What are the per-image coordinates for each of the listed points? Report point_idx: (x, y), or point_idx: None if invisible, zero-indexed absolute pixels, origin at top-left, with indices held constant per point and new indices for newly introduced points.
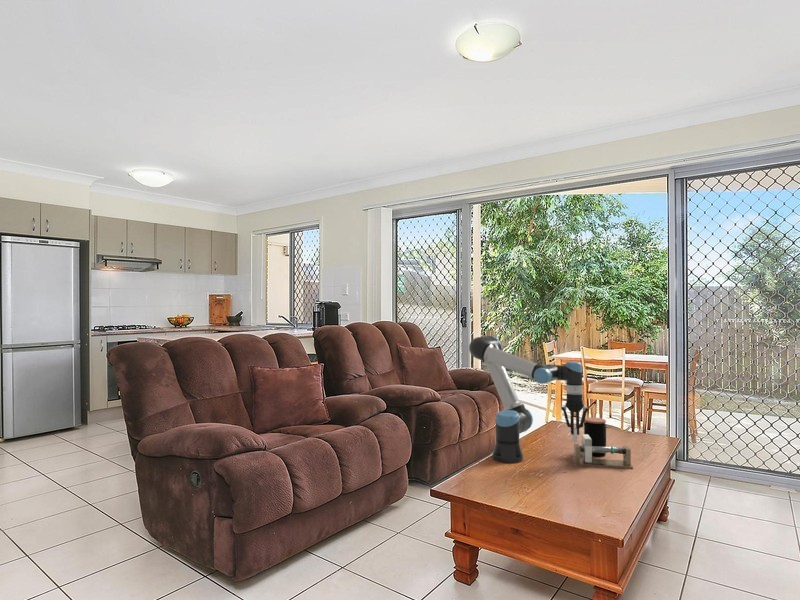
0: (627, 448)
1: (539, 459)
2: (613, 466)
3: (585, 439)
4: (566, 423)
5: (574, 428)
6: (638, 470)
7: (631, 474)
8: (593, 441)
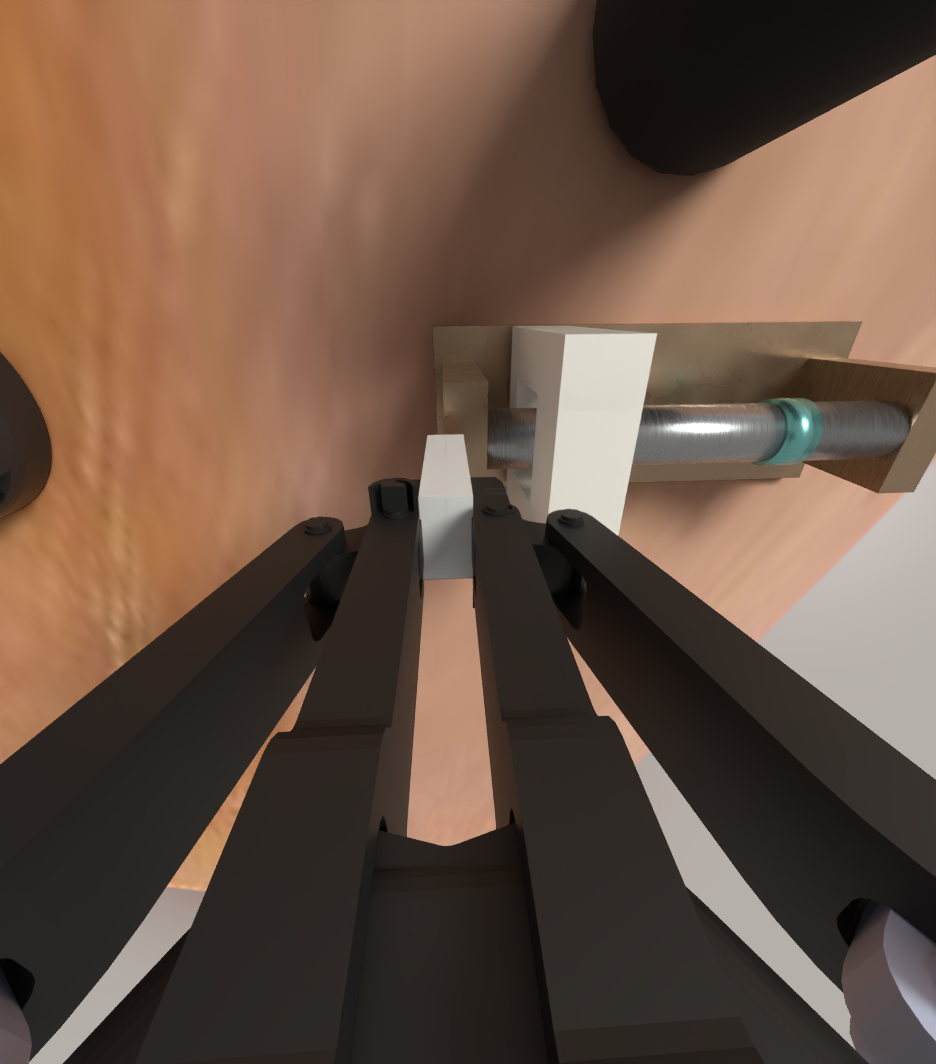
0: (912, 460)
1: (167, 375)
2: (678, 479)
3: None
4: (279, 547)
5: (436, 567)
6: (802, 496)
7: (718, 570)
8: (734, 109)
